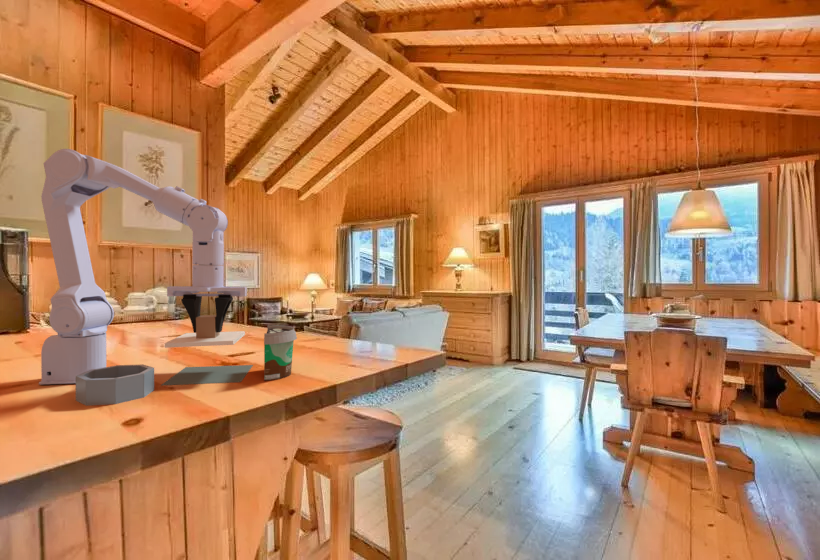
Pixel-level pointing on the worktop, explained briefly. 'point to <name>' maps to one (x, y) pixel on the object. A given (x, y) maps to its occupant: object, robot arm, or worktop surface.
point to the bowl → (114, 384)
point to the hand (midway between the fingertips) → (207, 331)
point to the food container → (278, 352)
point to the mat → (209, 375)
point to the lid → (206, 335)
